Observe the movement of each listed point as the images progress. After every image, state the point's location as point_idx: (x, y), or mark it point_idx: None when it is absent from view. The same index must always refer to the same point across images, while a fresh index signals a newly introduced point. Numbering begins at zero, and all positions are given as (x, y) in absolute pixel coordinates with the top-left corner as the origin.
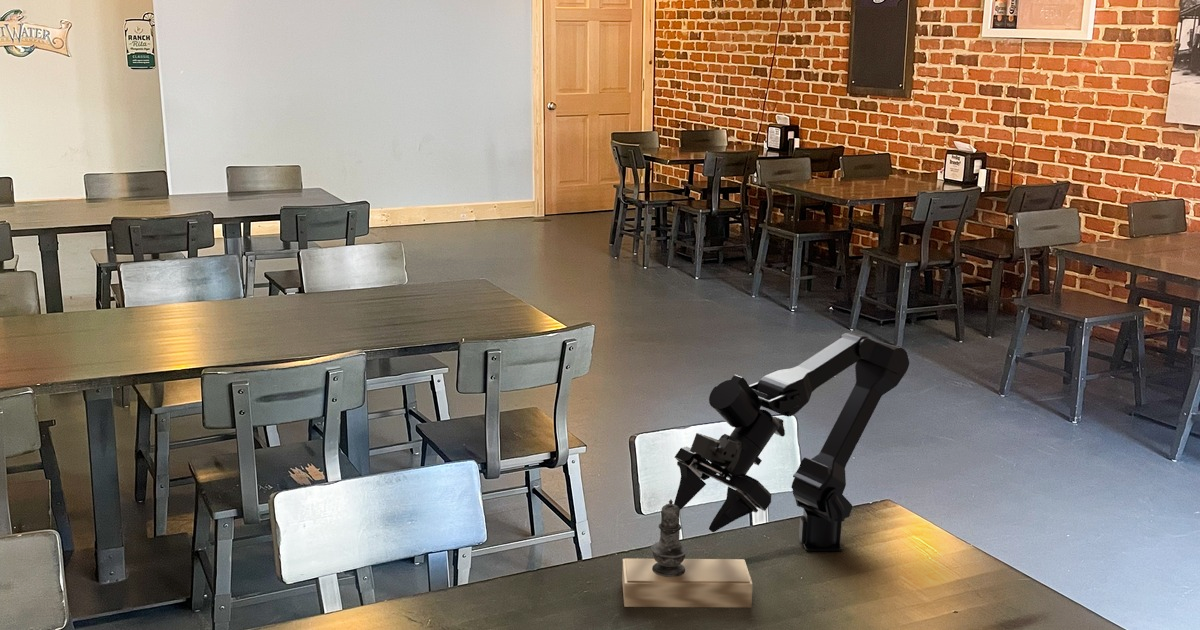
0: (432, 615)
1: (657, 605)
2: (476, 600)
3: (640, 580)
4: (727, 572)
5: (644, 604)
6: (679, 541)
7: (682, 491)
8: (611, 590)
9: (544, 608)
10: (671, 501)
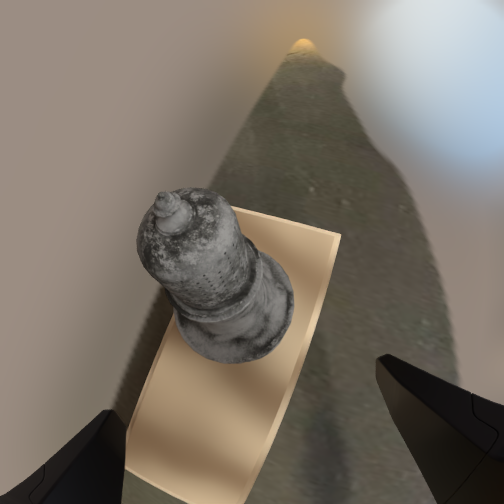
0: (292, 62)
1: None
2: (315, 86)
3: None
4: (173, 449)
5: None
6: (206, 324)
7: (434, 413)
8: None
9: (272, 132)
10: (157, 203)
